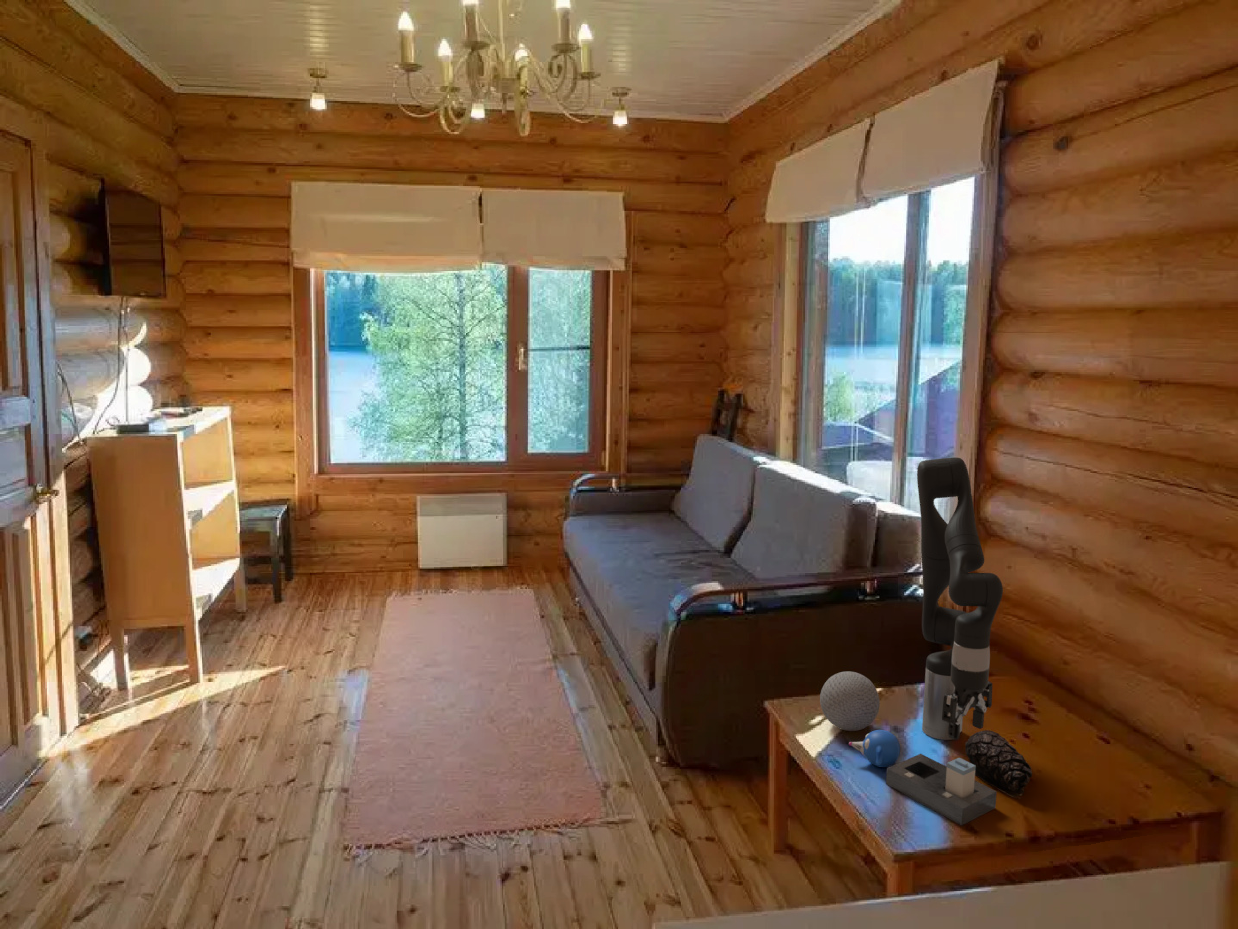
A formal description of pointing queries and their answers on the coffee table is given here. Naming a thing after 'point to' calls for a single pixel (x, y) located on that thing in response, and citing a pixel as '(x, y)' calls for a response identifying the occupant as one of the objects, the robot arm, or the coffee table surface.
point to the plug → (960, 778)
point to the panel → (938, 789)
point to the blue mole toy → (879, 748)
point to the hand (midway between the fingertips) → (965, 732)
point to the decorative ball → (849, 701)
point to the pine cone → (998, 762)
